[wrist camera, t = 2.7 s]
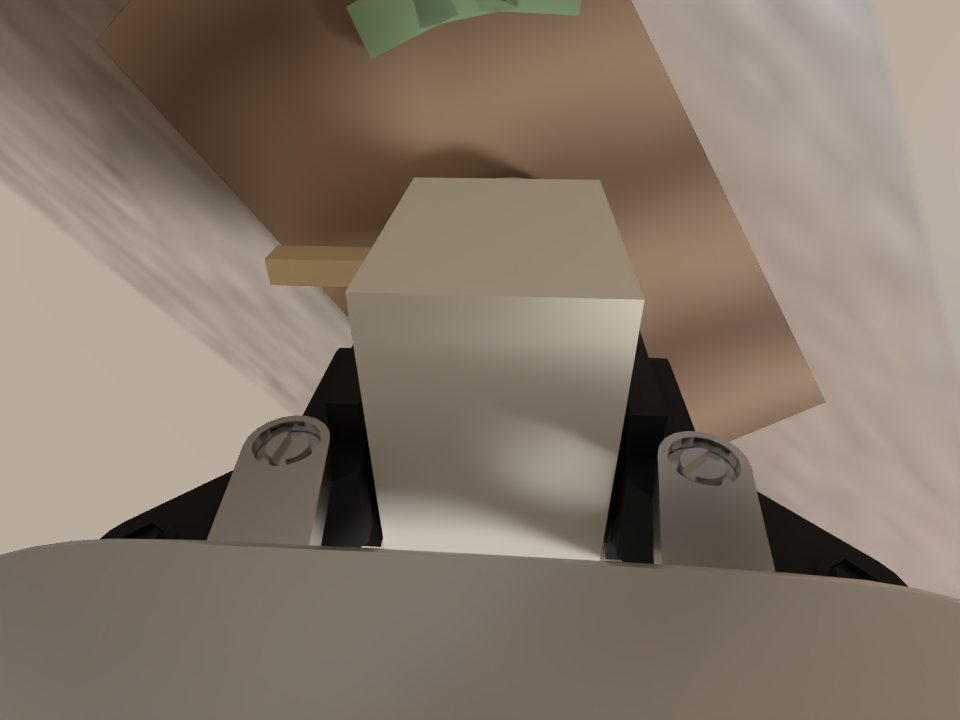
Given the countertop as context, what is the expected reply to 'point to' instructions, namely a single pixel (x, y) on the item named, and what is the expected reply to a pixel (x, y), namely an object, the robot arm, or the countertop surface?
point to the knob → (489, 361)
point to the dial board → (476, 149)
